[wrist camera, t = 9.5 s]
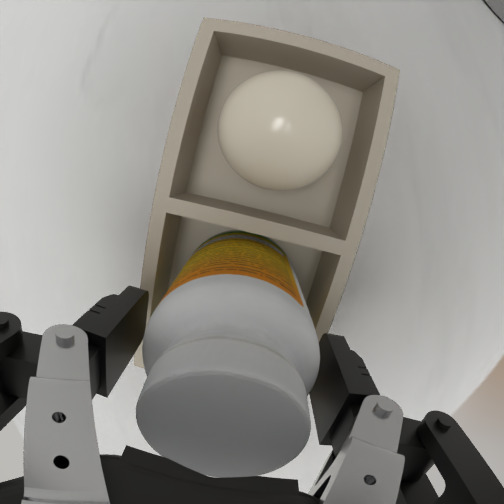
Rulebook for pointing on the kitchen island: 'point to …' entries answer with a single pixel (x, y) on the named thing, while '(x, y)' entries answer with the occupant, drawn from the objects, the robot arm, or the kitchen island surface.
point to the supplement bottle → (230, 361)
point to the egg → (280, 130)
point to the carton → (255, 198)
